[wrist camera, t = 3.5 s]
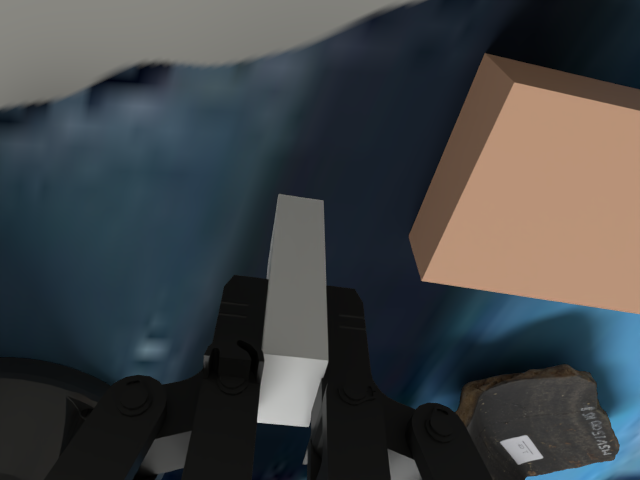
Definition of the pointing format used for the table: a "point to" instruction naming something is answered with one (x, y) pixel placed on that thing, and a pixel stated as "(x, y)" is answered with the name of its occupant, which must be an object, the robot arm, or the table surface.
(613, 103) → the tile
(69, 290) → the table surface
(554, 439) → the pottery fragment
